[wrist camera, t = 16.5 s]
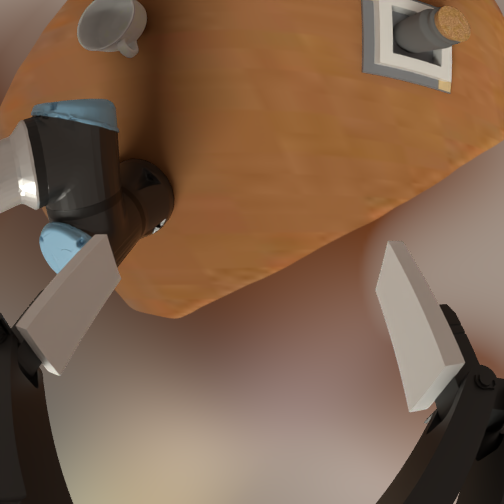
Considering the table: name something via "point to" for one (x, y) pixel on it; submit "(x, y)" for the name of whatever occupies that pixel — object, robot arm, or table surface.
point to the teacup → (112, 26)
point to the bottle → (431, 30)
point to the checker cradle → (391, 55)
